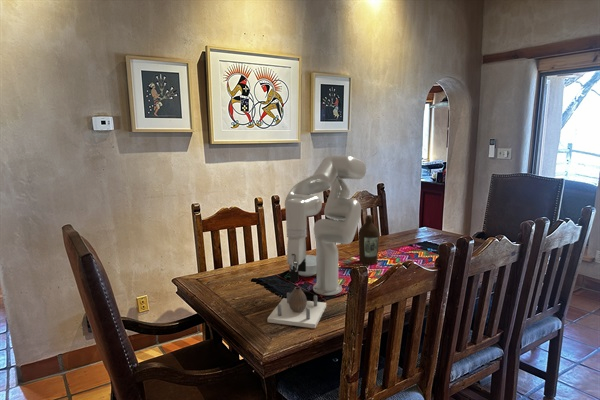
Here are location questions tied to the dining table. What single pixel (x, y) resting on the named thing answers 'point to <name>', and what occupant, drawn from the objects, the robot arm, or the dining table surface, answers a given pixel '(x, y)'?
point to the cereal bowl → (309, 266)
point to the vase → (297, 300)
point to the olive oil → (368, 242)
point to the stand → (298, 313)
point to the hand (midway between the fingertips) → (298, 276)
